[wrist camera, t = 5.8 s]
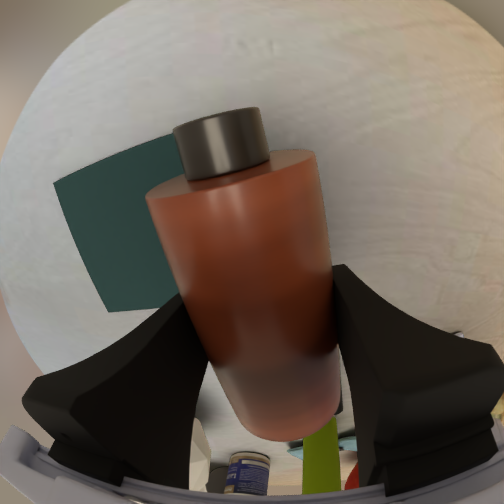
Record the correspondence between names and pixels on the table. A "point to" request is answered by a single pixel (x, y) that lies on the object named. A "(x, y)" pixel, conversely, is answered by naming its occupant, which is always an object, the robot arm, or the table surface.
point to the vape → (321, 460)
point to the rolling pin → (254, 271)
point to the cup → (216, 481)
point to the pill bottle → (247, 474)
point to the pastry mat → (122, 224)
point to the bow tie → (343, 444)
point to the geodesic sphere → (198, 458)
